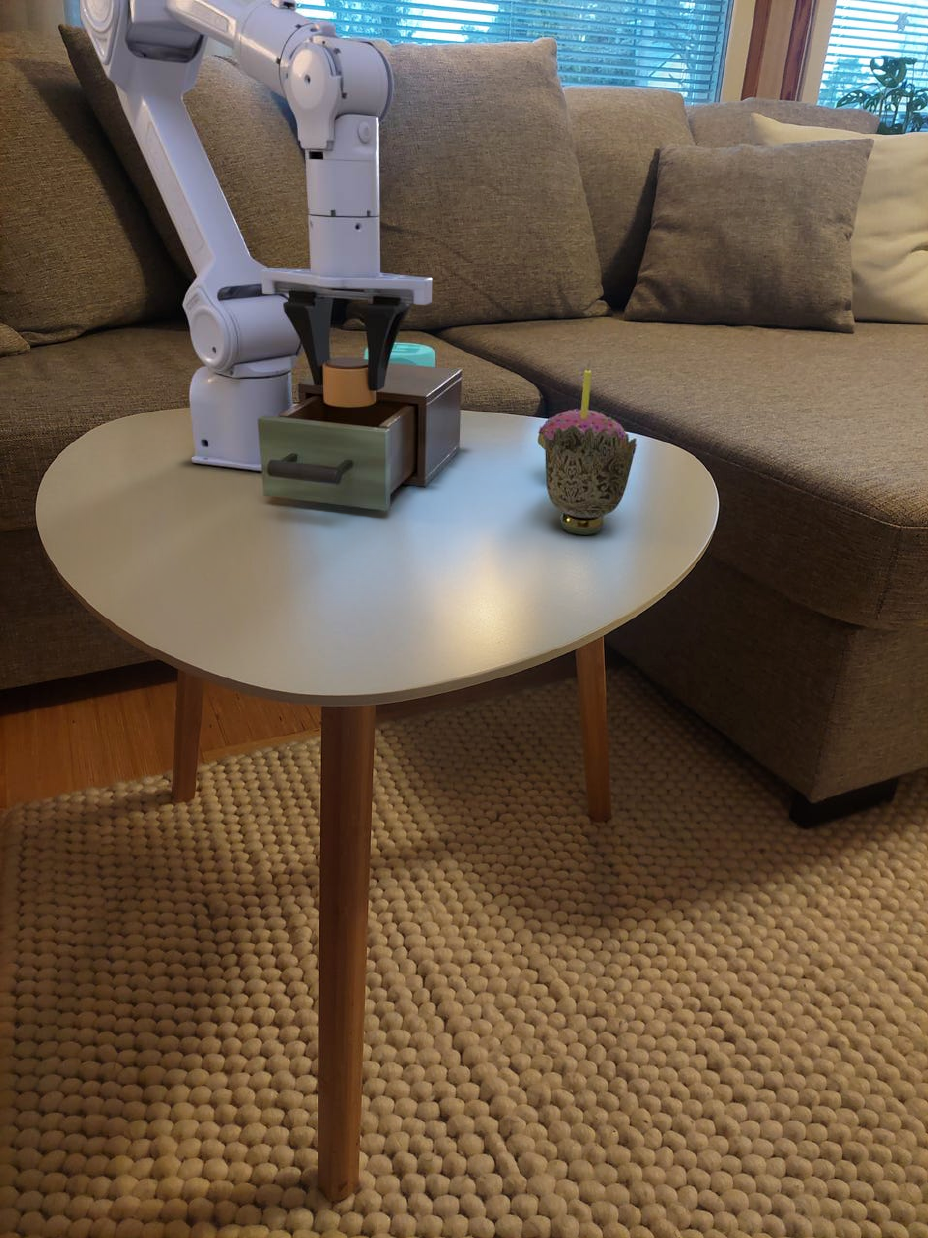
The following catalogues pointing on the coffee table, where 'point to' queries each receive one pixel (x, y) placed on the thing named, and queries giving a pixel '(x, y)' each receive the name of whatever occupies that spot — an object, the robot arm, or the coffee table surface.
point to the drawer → (339, 452)
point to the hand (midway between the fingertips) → (349, 385)
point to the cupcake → (581, 418)
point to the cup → (587, 475)
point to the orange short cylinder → (347, 383)
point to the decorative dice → (411, 354)
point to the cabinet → (421, 411)
